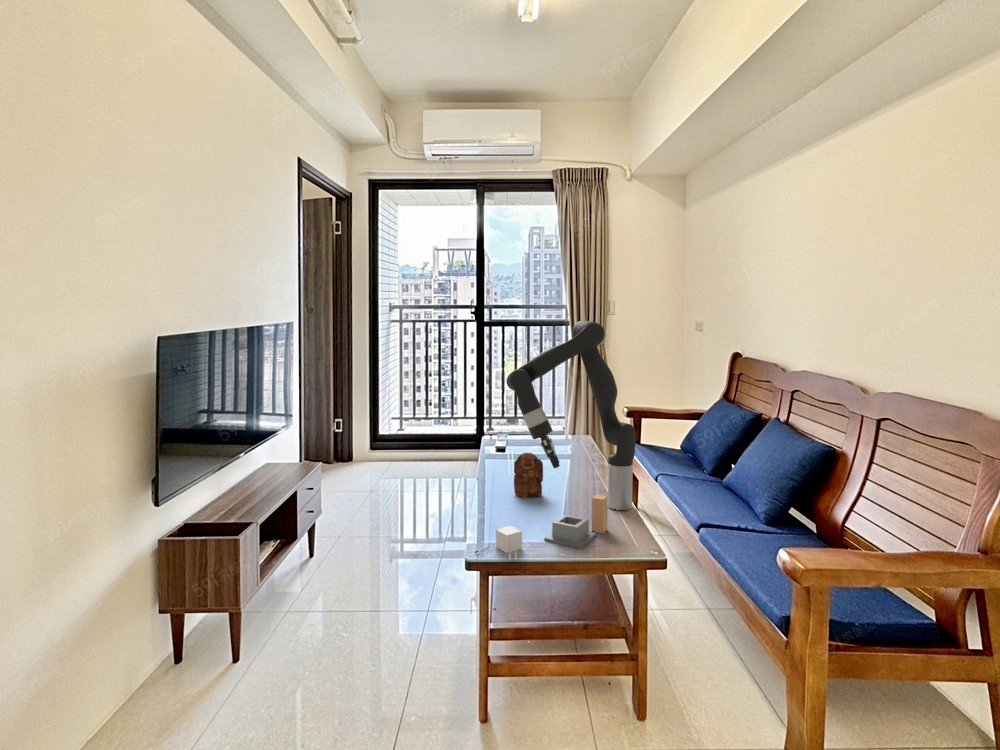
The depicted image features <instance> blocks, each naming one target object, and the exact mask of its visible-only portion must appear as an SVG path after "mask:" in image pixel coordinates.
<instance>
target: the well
mask: <svg viewBox="0 0 1000 750" xmlns="http://www.w3.org/2000/svg"><path fill="white" fill-rule="evenodd" d="M589 523H590V519H589V518H585V517H580V516H576V515H575V516H574V515H569V514H566V513H565V514H563V515H562V516H560V517H559V518H556V520H554V521H552V524H551V525H552V528H551V529H552V532H551V533H549V534H547V535H546V536H544V538H543V539H544V542H548V543H552V542H553V544H556V545H557V544H558V545H561V546H566V547H571V548H575V549H579V550H581V549H582V548H583V547H584V546H586V545H588V543H589V542H591V541H592V540H594V538H596V537H597V536H598V535H597V534H598V533H596V532H592V531H590V529H589V528H590V525H589ZM596 535H597V536H596ZM595 536H596V537H595ZM590 540H591V541H590ZM585 544H586V545H585Z"/></svg>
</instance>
